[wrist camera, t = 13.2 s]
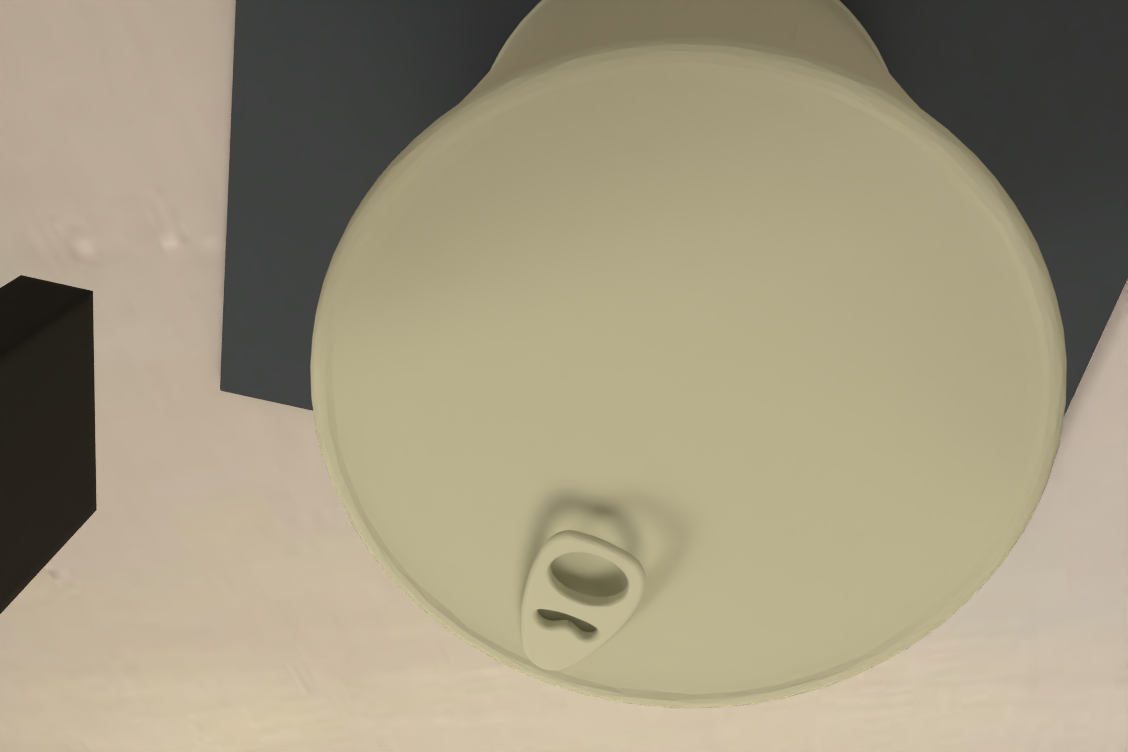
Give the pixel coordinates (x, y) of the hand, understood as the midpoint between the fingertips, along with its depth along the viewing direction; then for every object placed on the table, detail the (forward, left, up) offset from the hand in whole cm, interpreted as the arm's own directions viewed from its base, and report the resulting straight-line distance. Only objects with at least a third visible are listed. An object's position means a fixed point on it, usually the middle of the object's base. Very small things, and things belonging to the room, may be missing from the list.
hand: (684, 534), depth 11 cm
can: (0, 0, -14) cm, 14 cm away
